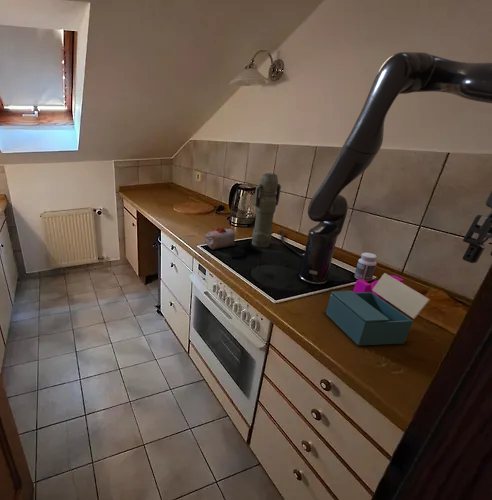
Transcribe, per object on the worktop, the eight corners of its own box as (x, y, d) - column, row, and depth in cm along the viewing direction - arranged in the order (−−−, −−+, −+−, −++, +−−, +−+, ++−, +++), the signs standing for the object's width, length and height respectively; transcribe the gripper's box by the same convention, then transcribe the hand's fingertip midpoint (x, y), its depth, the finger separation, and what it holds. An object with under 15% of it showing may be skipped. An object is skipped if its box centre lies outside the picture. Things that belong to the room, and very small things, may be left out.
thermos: (245, 242, 153) (253, 173, 140) (264, 239, 156) (274, 171, 143) (255, 249, 146) (265, 176, 132) (276, 245, 148) (287, 174, 135)
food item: (211, 251, 145) (213, 232, 141) (203, 245, 151) (204, 227, 148) (235, 247, 149) (237, 228, 145) (226, 241, 155) (227, 223, 152)
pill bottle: (371, 276, 117) (378, 253, 113) (372, 283, 113) (379, 259, 109) (353, 273, 120) (359, 251, 116) (354, 279, 115) (360, 256, 111)
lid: (384, 272, 90) (385, 273, 91) (371, 290, 93) (373, 290, 93) (429, 299, 77) (430, 299, 77) (413, 318, 79) (414, 319, 79)
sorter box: (325, 313, 96) (331, 291, 93) (365, 312, 96) (372, 289, 93) (358, 345, 82) (366, 320, 79) (404, 343, 82) (414, 318, 79)
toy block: (380, 290, 108) (386, 271, 105) (397, 299, 102) (404, 280, 99) (345, 295, 105) (350, 276, 102) (360, 305, 100) (366, 285, 97)
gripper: (522, 180, 64) (484, 249, 70) (474, 183, 60) (439, 255, 67) (575, 188, 57) (528, 263, 64) (524, 193, 54) (480, 271, 61)
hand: (482, 259), depth 66 cm, fingers open, 8 cm apart
